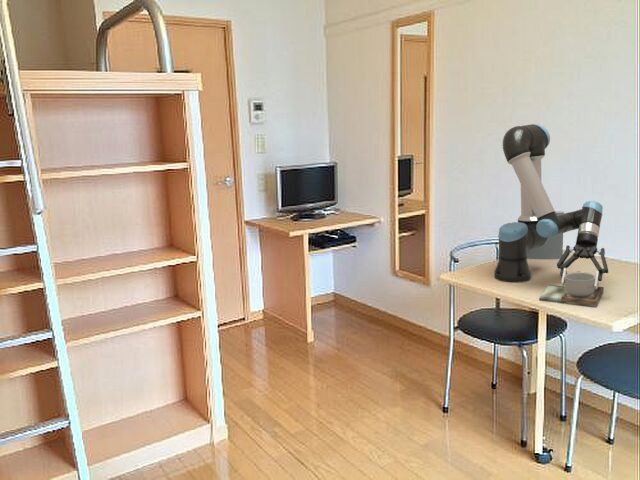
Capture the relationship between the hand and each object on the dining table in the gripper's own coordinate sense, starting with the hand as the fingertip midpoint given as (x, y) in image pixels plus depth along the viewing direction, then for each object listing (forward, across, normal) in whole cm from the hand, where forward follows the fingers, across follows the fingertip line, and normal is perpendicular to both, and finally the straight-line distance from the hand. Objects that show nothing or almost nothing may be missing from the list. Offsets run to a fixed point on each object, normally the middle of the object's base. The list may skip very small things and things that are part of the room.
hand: (578, 286), depth 216 cm
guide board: (+2, +3, -6) cm, 7 cm away
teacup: (+1, 0, -5) cm, 5 cm away
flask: (-34, +25, -43) cm, 60 cm away
